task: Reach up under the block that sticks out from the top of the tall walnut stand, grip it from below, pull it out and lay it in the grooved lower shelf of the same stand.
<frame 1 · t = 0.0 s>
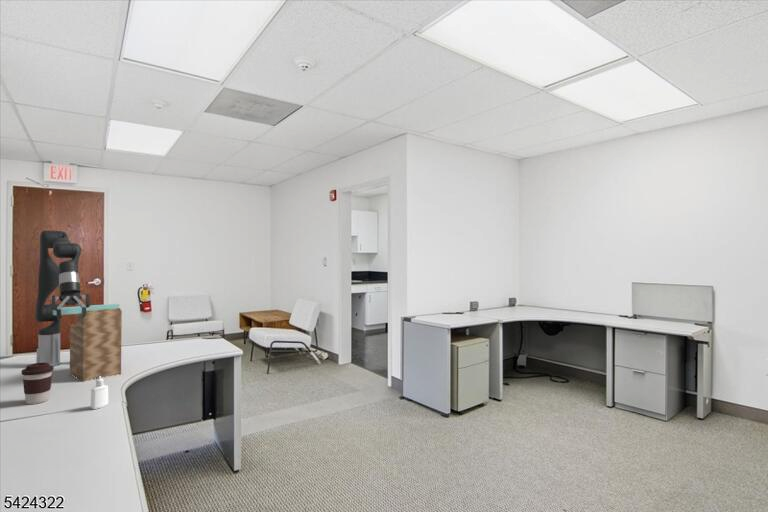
hand: (71, 317, 184), 31 cm above the table, tool tilted 20°, fingers open, 8 cm apart
eye dropper bottle: (99, 407, 158), on the table
stand: (79, 379, 195), on the table
block: (87, 312, 198), point 32 cm above the table, touching stand
coffee cup: (37, 402, 165), on the table
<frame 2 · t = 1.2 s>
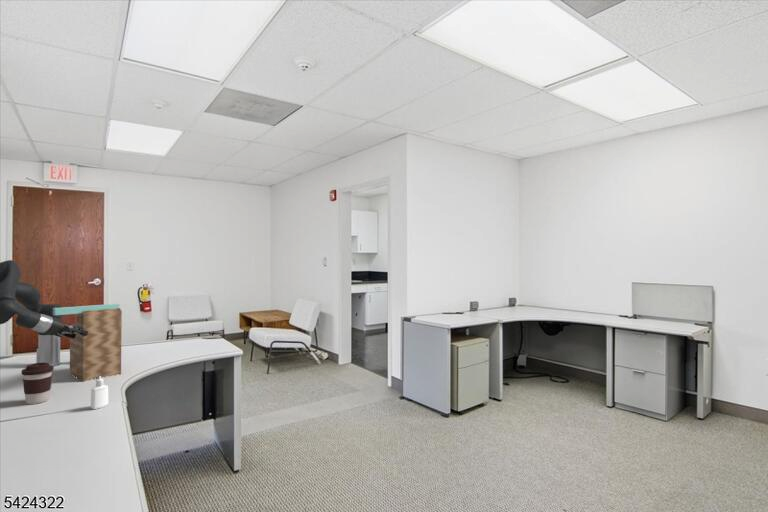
hand: (81, 335, 195), 21 cm above the table, tool tilted 65°, fingers open, 8 cm apart
nothing on the table moved.
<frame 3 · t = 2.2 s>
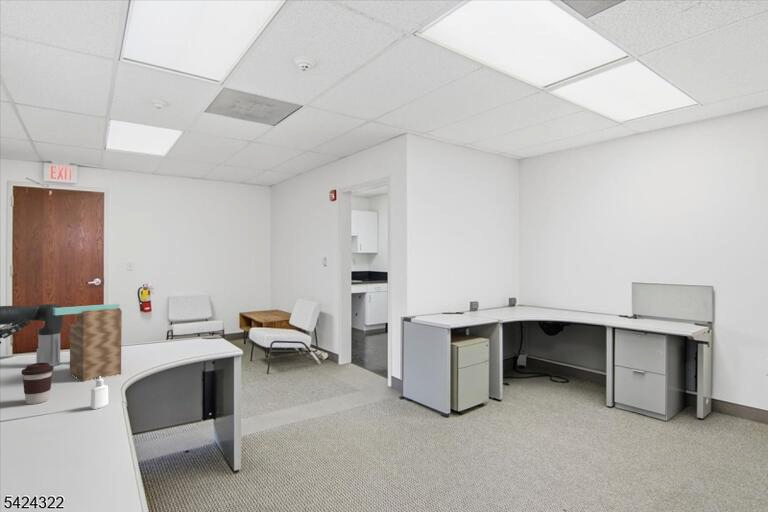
hand: (26, 320, 183), 30 cm above the table, tool pointing upward, fingers open, 8 cm apart
nothing on the table moved.
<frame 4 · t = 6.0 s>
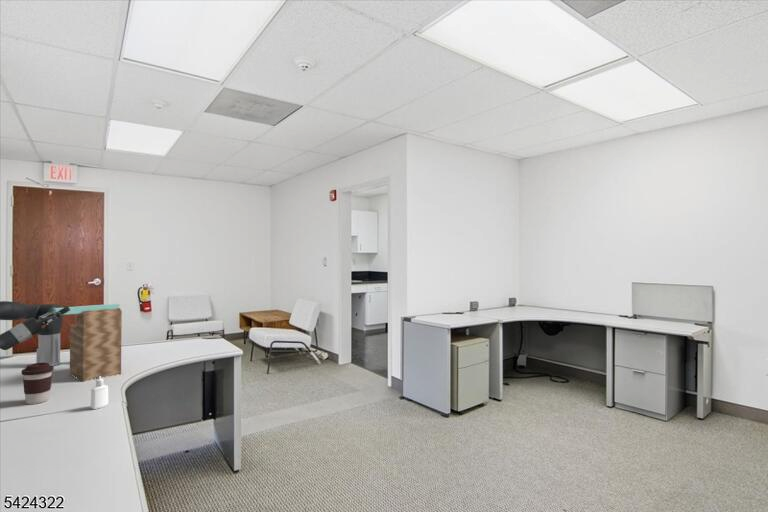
hand: (67, 307, 192), 35 cm above the table, tool pointing upward, fingers closed on block, 4 cm apart
block: (87, 312, 198), point 32 cm above the table, touching gripper, stand
everything else where it was.
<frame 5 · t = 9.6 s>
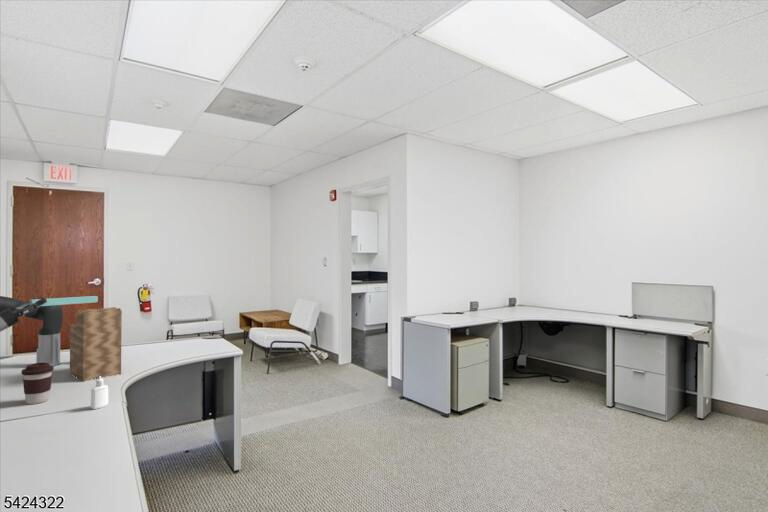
hand: (44, 299, 193), 39 cm above the table, tool pointing upward, fingers closed on block, 4 cm apart
block: (65, 304, 199), point 36 cm above the table, touching gripper
everything else where it was.
when the fingers open (28 cm above the table, at t = 13.4 s): block drops 1 cm, resting on stand.
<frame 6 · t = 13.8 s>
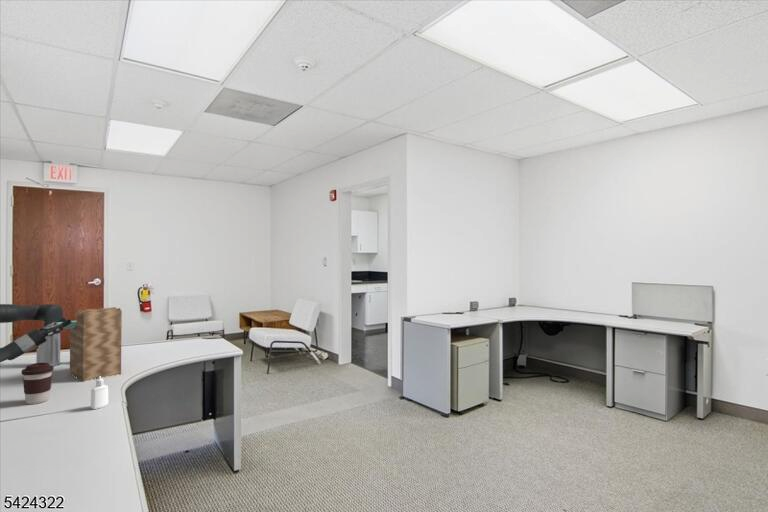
hand: (67, 319, 200), 28 cm above the table, tool pointing upward, fingers open, 8 cm apart
block: (88, 325, 207), point 24 cm above the table, touching stand
everything else where it was.
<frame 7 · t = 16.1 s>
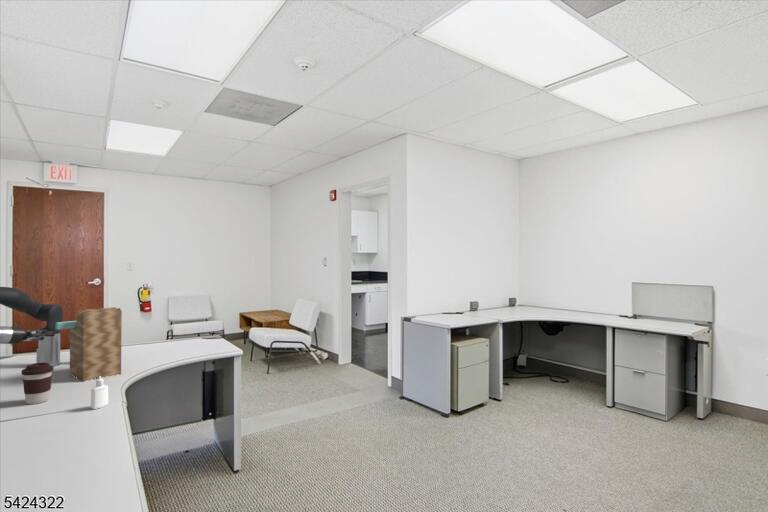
hand: (48, 335, 194), 21 cm above the table, tool horizontal, fingers open, 8 cm apart
nothing on the table moved.
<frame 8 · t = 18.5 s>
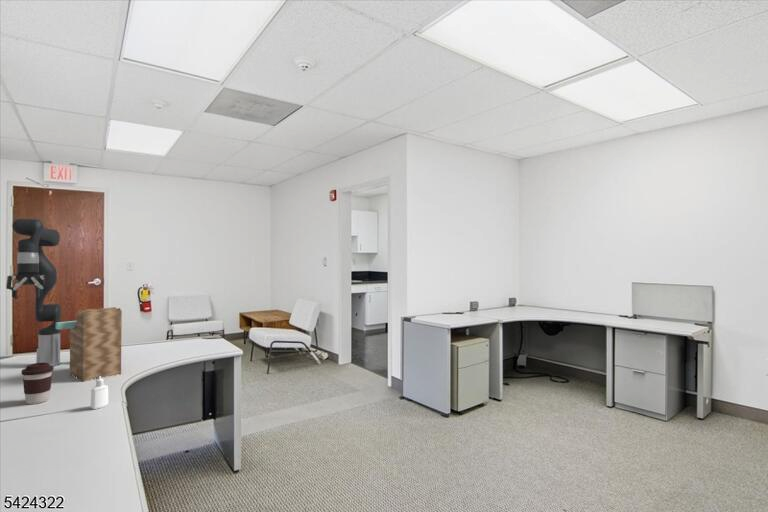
hand: (27, 298, 186), 40 cm above the table, tool pointing down, fingers open, 8 cm apart
nothing on the table moved.
at the end: block inside the target area on the stand (0.0 cm from its centre), point 24.0 cm above the stand's base; block tilted 0°; the gripper is holding nothing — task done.
